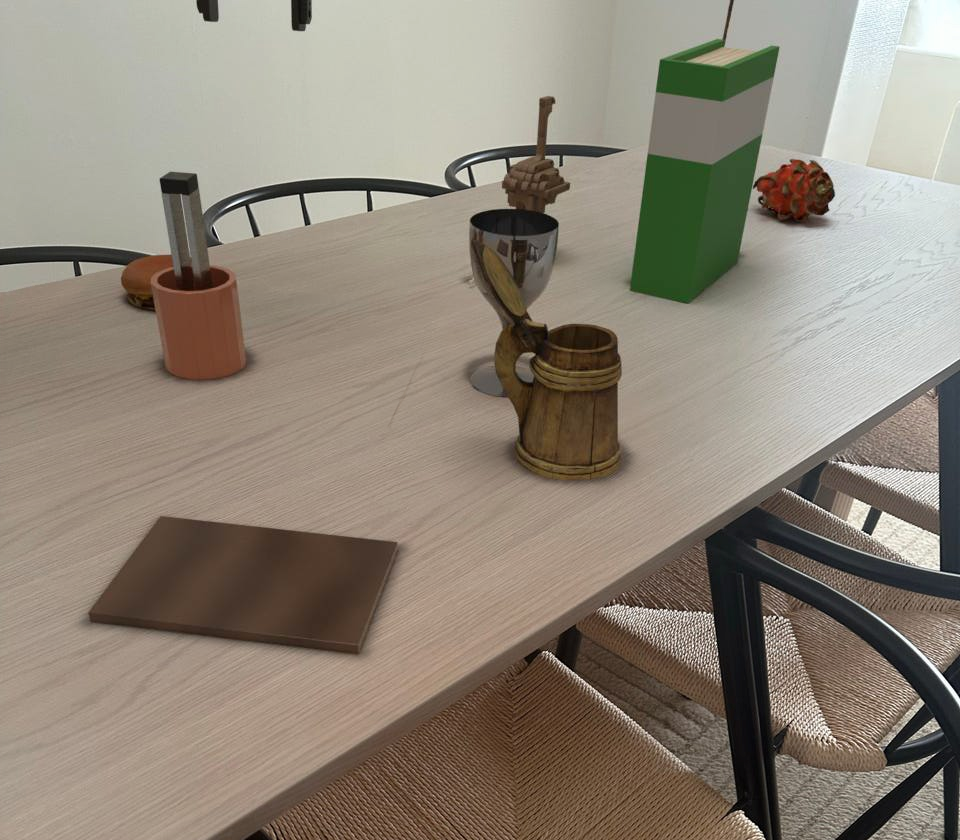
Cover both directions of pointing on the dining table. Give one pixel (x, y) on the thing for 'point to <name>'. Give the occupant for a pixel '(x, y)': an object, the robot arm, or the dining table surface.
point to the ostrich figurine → (535, 173)
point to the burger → (143, 278)
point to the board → (250, 584)
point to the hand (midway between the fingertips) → (255, 26)
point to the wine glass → (515, 267)
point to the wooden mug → (555, 383)
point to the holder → (200, 326)
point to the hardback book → (700, 167)
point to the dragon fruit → (796, 190)
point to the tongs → (171, 195)
